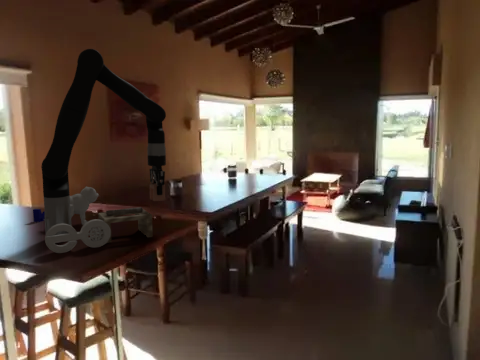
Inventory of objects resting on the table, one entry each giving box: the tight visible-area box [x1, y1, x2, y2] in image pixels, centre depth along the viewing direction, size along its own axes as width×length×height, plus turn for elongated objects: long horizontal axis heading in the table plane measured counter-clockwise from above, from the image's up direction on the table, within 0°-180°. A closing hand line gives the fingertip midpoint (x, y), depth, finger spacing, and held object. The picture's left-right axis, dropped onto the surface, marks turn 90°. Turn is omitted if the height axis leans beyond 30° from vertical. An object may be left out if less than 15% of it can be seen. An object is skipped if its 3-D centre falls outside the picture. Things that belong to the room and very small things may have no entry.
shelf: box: [97, 206, 154, 244], centre depth 164 cm, size 18×14×11 cm
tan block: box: [149, 183, 166, 202], centre depth 173 cm, size 5×6×7 cm
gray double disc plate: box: [44, 218, 112, 254], centre depth 146 cm, size 22×2×10 cm, turn 123°
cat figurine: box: [43, 186, 101, 227], centre depth 182 cm, size 25×10×17 cm, turn 129°
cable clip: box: [32, 208, 45, 223], centre depth 196 cm, size 12×4×6 cm, turn 171°
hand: (157, 193), depth 173 cm, fingers closed on tan block, 5 cm apart
